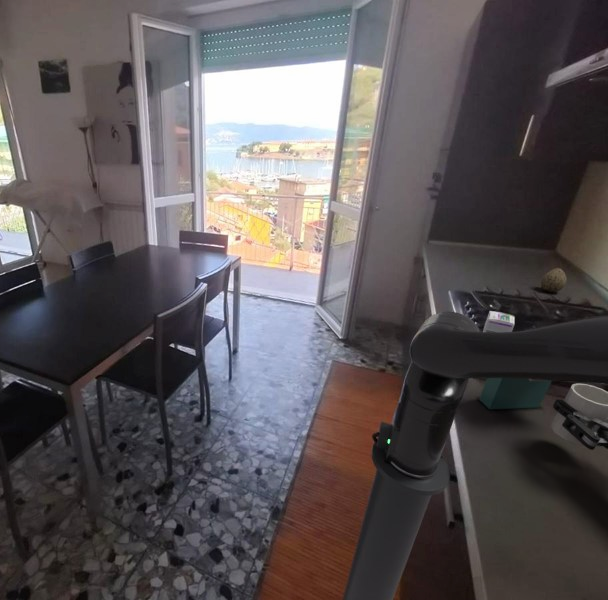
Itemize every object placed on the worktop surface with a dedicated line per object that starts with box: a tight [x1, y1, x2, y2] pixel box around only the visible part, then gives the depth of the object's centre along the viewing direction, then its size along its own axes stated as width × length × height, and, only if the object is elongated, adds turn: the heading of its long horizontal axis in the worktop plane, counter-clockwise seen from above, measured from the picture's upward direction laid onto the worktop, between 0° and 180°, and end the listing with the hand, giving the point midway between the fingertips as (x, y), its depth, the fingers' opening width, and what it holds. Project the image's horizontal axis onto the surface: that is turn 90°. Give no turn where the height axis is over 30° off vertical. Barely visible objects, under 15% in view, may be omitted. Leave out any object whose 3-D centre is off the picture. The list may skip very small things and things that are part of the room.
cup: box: [550, 382, 608, 447], centre depth 69 cm, size 6×6×10 cm
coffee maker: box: [478, 378, 557, 410], centre depth 79 cm, size 10×12×19 cm
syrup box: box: [482, 310, 516, 332], centre depth 98 cm, size 6×6×14 cm
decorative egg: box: [540, 267, 567, 293], centre depth 140 cm, size 7×7×10 cm
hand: (573, 402), depth 71 cm, fingers closed on cup, 6 cm apart
